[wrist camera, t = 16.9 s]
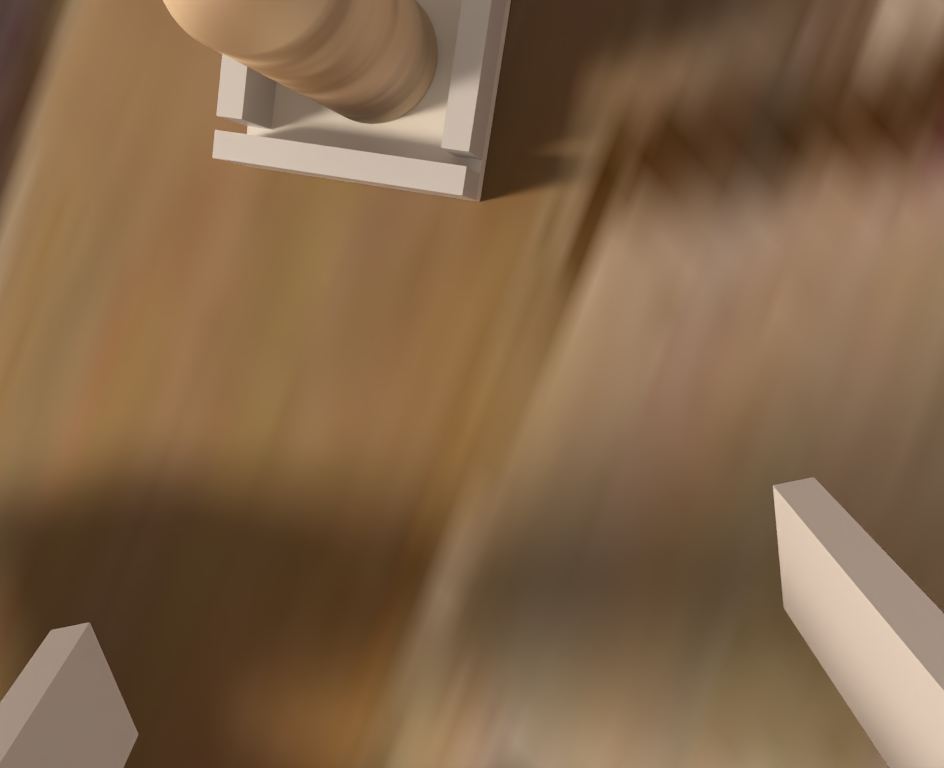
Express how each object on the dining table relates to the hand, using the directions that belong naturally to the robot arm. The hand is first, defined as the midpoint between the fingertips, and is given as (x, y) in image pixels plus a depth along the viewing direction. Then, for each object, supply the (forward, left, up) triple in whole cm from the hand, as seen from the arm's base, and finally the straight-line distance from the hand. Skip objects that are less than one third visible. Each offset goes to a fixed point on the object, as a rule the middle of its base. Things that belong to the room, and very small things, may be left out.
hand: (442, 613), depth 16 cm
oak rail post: (-11, +14, -23) cm, 29 cm away
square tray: (-11, +14, -24) cm, 30 cm away
